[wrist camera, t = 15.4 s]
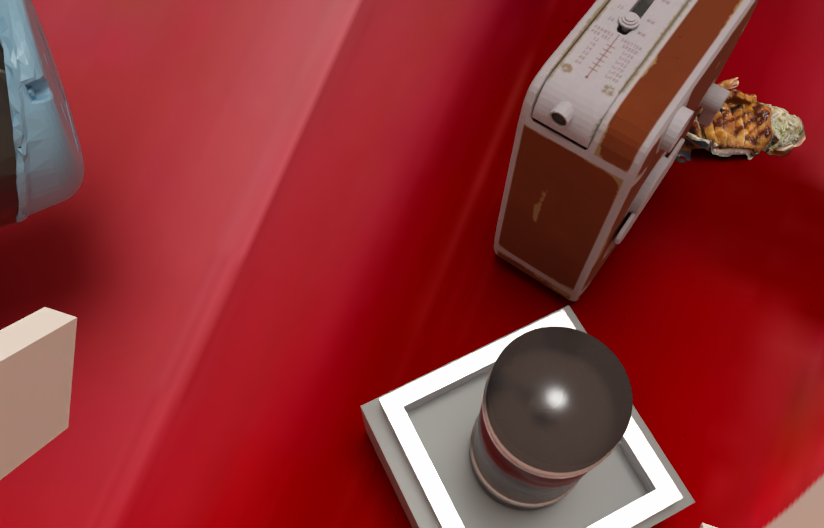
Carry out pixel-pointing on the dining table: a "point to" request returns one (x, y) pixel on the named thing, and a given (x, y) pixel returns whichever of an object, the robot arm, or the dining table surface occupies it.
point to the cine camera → (609, 130)
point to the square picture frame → (477, 365)
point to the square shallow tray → (480, 514)
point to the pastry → (744, 128)
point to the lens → (548, 416)
